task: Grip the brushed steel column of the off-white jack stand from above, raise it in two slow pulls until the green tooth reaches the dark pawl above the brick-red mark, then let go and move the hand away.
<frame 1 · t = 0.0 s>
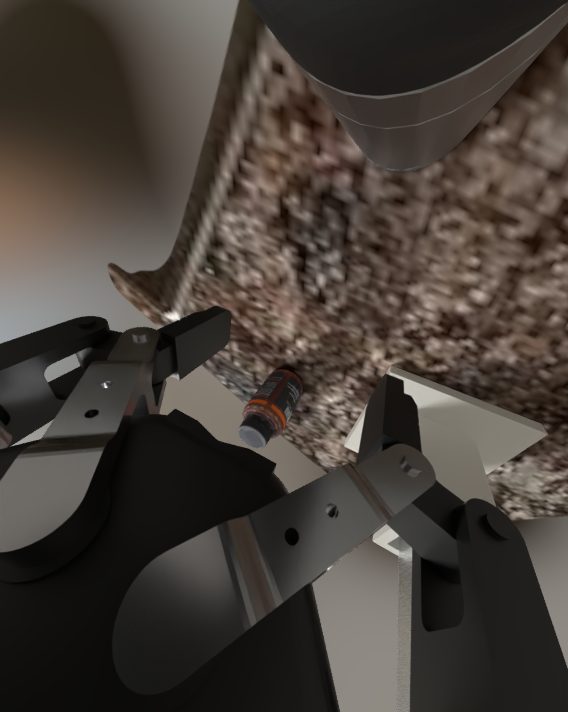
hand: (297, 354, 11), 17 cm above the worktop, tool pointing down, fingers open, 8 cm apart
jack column: (434, 541, 21), point 13 cm above the worktop, slide at 0.0 cm
supplement bottle: (287, 382, 37), on the worktop
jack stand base: (422, 432, 31), on the worktop
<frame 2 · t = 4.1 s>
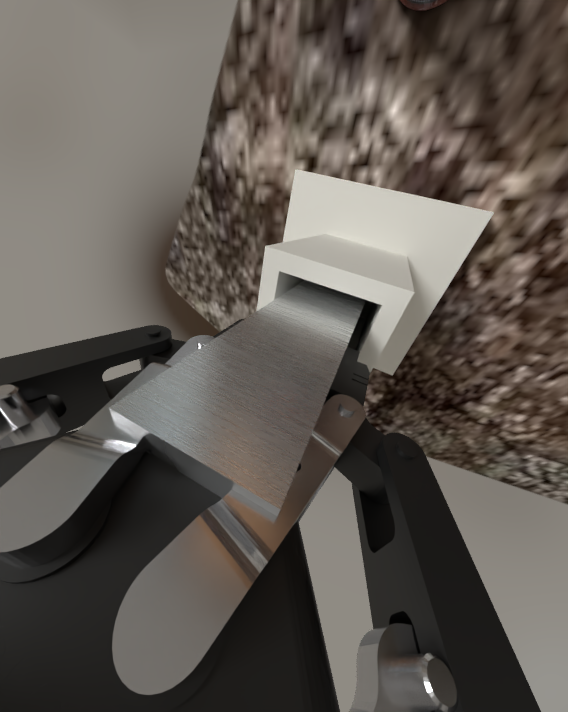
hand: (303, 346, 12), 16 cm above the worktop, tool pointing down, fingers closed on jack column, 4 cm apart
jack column: (317, 330, 14), point 13 cm above the worktop, slide at 0.0 cm, touching gripper
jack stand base: (352, 281, 24), on the worktop
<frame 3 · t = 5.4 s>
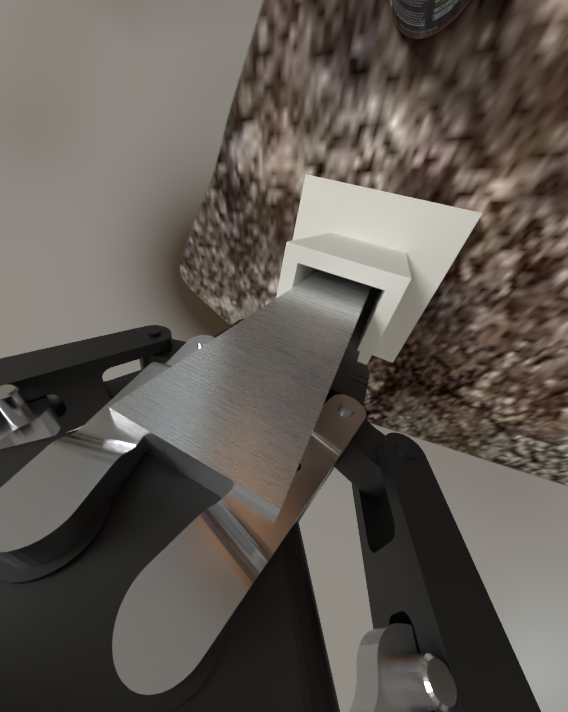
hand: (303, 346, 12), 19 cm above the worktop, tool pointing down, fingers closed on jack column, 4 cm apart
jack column: (317, 330, 14), point 16 cm above the worktop, slide at 2.9 cm, touching gripper
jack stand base: (356, 276, 27), on the worktop
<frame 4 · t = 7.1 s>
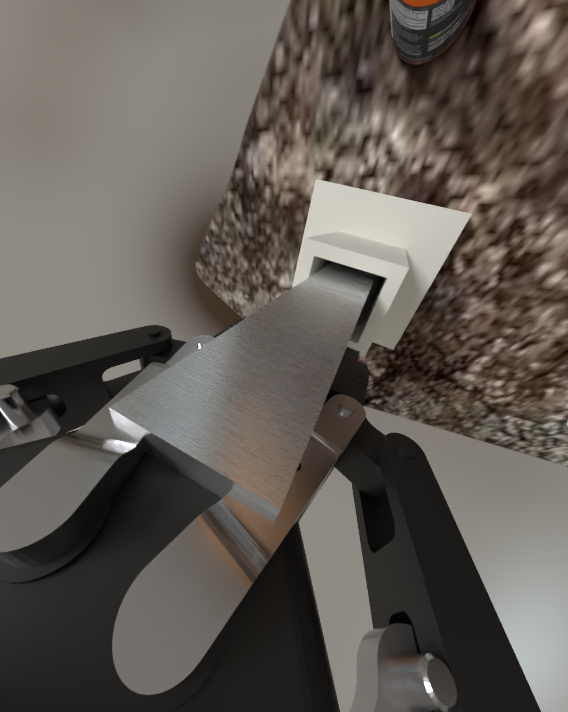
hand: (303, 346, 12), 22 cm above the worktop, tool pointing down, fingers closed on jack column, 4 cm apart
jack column: (317, 330, 14), point 19 cm above the worktop, slide at 6.4 cm, touching gripper
supplement bottle: (431, 14, 19), on the worktop
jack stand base: (360, 270, 29), on the worktop
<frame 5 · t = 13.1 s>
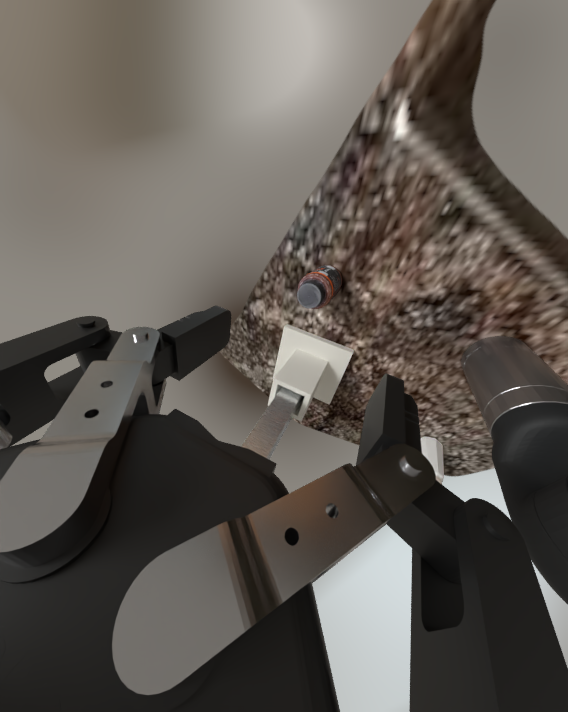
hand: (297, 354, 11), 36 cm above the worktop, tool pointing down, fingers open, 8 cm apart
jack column: (275, 420, 40), point 19 cm above the worktop, slide at 6.5 cm
supplement bottle: (327, 280, 45), on the worktop
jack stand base: (310, 364, 56), on the worktop
pepper shaker: (428, 444, 53), on the worktop
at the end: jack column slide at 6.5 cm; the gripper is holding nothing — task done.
